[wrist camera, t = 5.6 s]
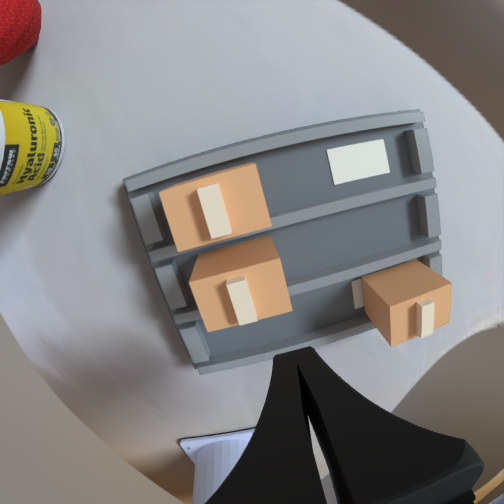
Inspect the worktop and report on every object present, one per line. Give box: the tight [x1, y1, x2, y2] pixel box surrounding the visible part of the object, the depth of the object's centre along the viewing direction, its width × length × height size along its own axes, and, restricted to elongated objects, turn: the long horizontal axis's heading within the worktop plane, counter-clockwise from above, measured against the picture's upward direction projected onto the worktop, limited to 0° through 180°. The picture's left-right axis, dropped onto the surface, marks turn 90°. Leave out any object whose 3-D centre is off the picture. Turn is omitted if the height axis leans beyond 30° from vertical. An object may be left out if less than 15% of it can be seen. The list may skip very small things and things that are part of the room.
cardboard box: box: [361, 259, 451, 347], centre depth 16 cm, size 3×4×5 cm, turn 105°
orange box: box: [159, 162, 272, 252], centre depth 14 cm, size 3×4×5 cm, turn 105°
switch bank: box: [122, 109, 442, 375], centre depth 18 cm, size 13×18×2 cm
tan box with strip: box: [189, 234, 293, 332], centre depth 15 cm, size 3×4×5 cm, turn 105°
